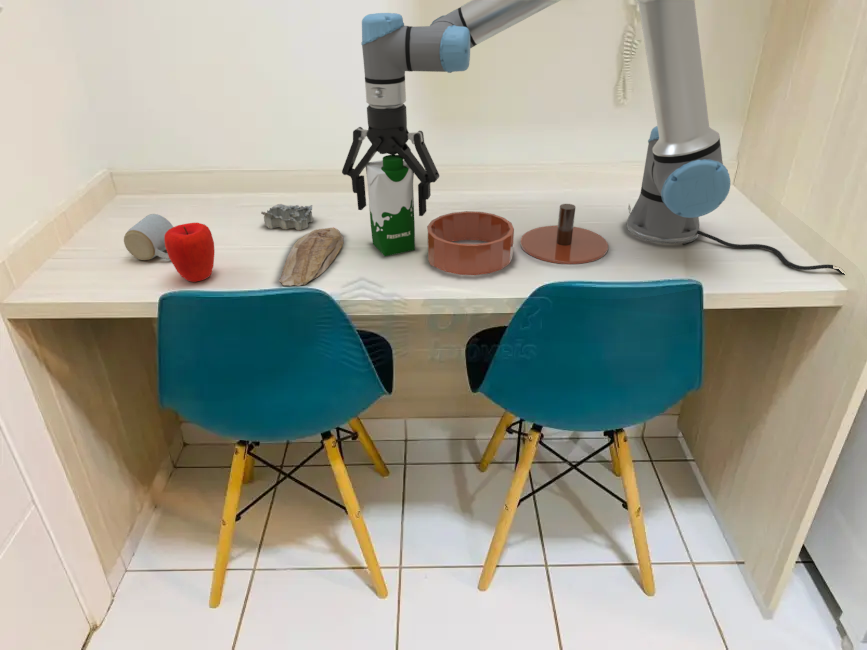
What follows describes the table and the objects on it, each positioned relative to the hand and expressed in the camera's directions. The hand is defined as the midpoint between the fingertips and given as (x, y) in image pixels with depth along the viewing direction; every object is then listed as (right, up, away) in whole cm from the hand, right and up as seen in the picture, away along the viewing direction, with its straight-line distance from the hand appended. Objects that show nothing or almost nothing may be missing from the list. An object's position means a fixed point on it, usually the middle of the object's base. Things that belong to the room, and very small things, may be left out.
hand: (392, 210), depth 131 cm
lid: (+36, -7, +3) cm, 37 cm away
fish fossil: (-17, -10, +1) cm, 20 cm away
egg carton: (-25, 0, +16) cm, 30 cm away
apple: (-38, -14, -6) cm, 41 cm away
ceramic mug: (-50, -9, +3) cm, 50 cm away
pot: (+16, -10, -1) cm, 19 cm away
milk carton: (0, -7, +4) cm, 8 cm away
